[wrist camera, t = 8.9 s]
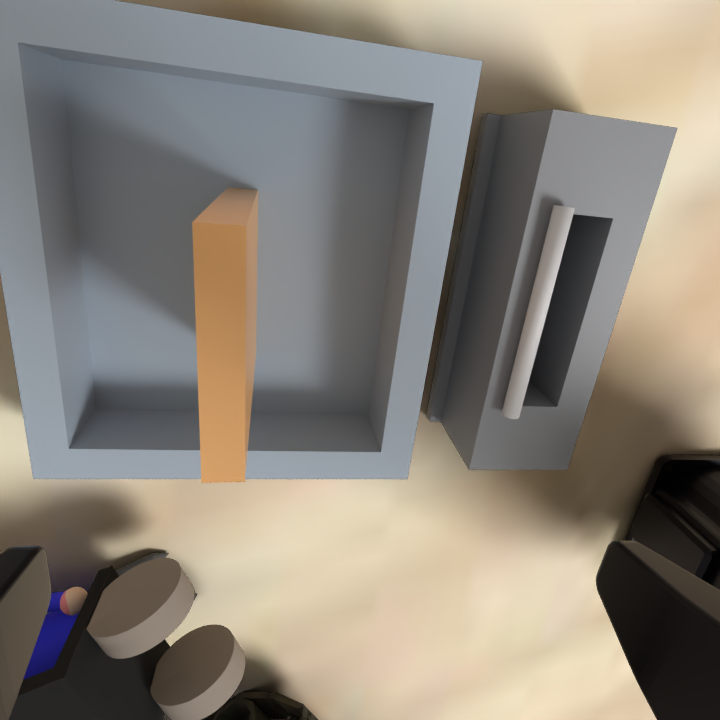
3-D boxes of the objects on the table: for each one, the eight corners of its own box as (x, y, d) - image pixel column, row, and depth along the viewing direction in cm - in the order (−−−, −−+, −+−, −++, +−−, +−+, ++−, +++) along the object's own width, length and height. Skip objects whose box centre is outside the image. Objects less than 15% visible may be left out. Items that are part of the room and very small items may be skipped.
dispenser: (610, 132, 18) (708, 129, 14) (530, 418, 23) (587, 479, 19) (482, 113, 18) (547, 105, 13) (426, 415, 22) (461, 479, 18)
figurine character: (181, 484, 23) (-151, 636, 22) (168, 619, 16) (-321, 856, 15) (244, 581, 26) (-46, 721, 25) (254, 730, 19) (-147, 938, 18)
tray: (446, 75, 17) (482, 60, 14) (389, 434, 22) (407, 479, 19) (16, 7, 14) (-48, -27, 12) (68, 429, 20) (33, 479, 17)
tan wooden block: (258, 190, 17) (246, 225, 10) (256, 354, 19) (245, 481, 12) (227, 187, 17) (192, 221, 10) (229, 353, 19) (201, 482, 12)
